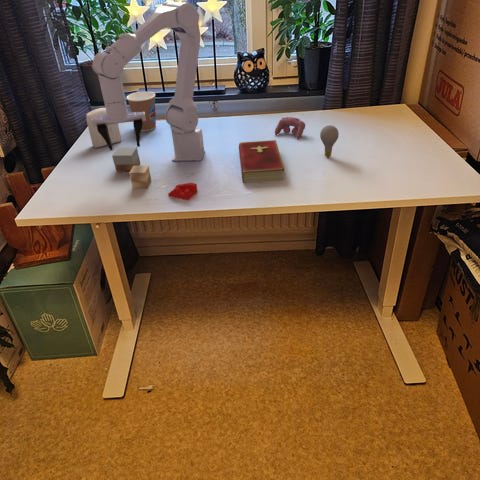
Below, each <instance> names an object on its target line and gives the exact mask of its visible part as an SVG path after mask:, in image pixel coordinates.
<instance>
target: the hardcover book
mask: <svg viewBox="0 0 480 480" xmlns="http://www.w3.org/2000/svg"><path fill="white" fill-rule="evenodd" d="M238 154H239V161H240V163H239V164H240V170H241V171H240V172H241V179H242V184H244V183H253V182H263V181H264V182H266V181H267V182H268V181H282V180H284V179H283V177H284V173H283V172H284V171H285V166H284V163H283V160H282V156H281V153H280V149H279V146H278V143H277V140H276V139H273V140H272V139H271V140H258V141H256V140H255V141H243V142H239V143H238Z"/></svg>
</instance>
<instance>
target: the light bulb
mask: <svg viewBox="0 0 480 480" xmlns="http://www.w3.org/2000/svg"><path fill="white" fill-rule="evenodd" d="M339 135H340V134H339V130H338V128H337V127H336V126H334V125H331V124H330V125H326V126H324V127H323V128H322V129H321V130H320V134H319V136H320V137H319V138H320V140H321V142H322V144H323V145H324V146H323V147H324V156H325V157H326V158H329V157H331V156H332V152H333V147H334V146H335V144H336V142H337V141H338V139H339V137H340V136H339Z"/></svg>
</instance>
